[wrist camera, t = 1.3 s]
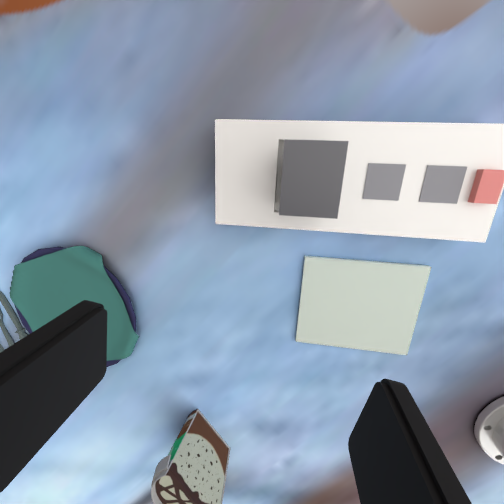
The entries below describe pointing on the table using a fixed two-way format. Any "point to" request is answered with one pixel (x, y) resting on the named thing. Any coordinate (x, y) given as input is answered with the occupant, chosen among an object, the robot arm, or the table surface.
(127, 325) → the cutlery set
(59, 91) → the table surface
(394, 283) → the mat
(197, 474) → the food container
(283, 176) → the block
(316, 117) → the table surface
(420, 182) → the power strip
